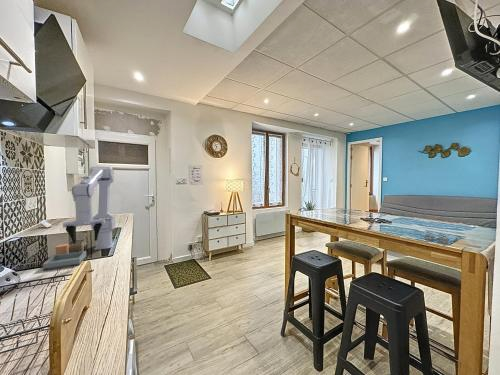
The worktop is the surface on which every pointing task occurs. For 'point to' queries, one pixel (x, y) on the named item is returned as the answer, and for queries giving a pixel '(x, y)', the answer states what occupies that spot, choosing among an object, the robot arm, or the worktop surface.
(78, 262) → the slate tray
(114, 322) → the worktop surface
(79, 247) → the walnut block
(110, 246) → the robot arm
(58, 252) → the terracotta block
